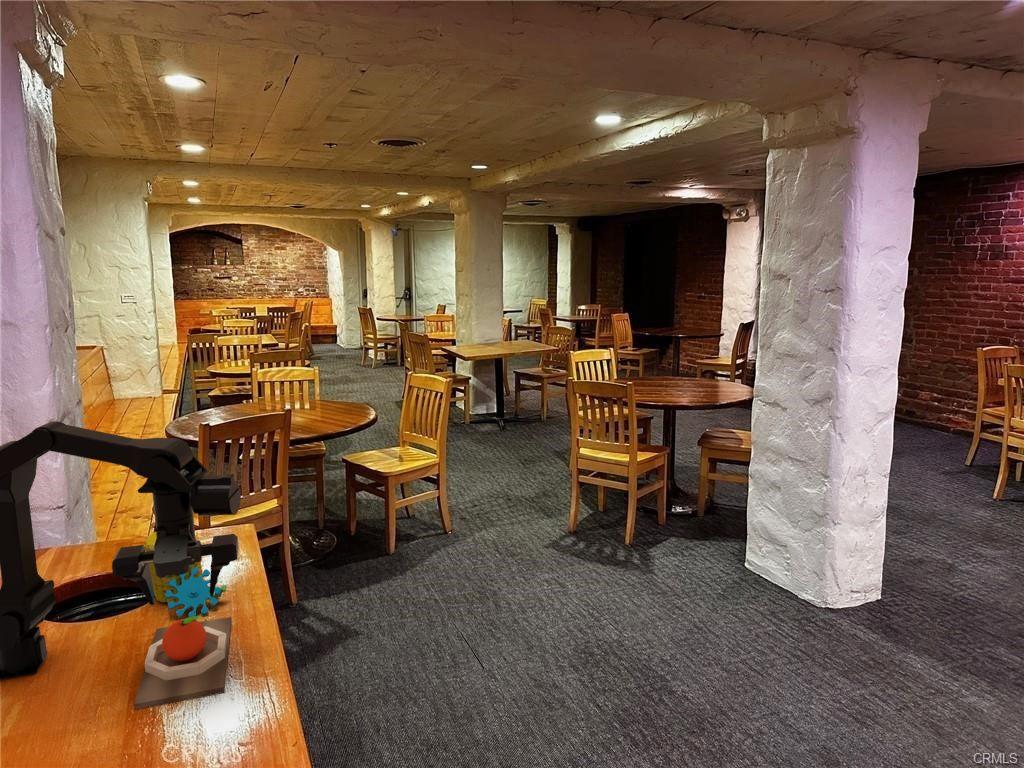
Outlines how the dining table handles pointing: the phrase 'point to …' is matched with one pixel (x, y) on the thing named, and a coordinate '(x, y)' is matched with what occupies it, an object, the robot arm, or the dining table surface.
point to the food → (163, 582)
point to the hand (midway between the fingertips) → (182, 600)
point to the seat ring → (186, 669)
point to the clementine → (184, 639)
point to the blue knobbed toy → (193, 593)
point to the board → (186, 687)
